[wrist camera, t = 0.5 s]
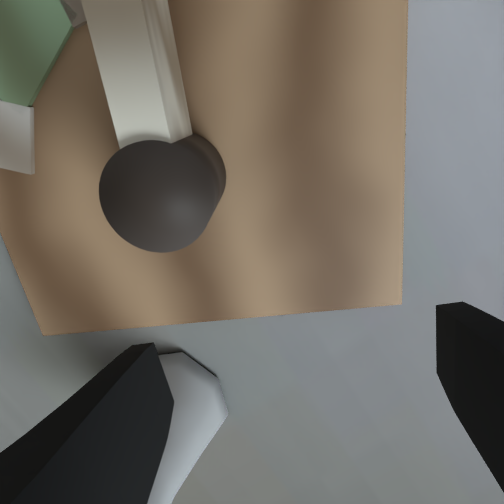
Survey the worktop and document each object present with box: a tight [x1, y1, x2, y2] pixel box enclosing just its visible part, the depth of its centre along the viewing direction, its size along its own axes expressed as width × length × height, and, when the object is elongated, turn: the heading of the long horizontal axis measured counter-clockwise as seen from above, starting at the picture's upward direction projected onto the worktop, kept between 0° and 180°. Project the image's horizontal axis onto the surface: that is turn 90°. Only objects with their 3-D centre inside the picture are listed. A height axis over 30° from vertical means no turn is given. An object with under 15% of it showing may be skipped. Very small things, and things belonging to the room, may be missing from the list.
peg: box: [81, 0, 226, 253], centre depth 13 cm, size 14×4×5 cm, turn 8°
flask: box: [147, 352, 228, 504], centre depth 19 cm, size 7×7×10 cm
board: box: [0, 0, 408, 336], centre depth 17 cm, size 20×20×1 cm
